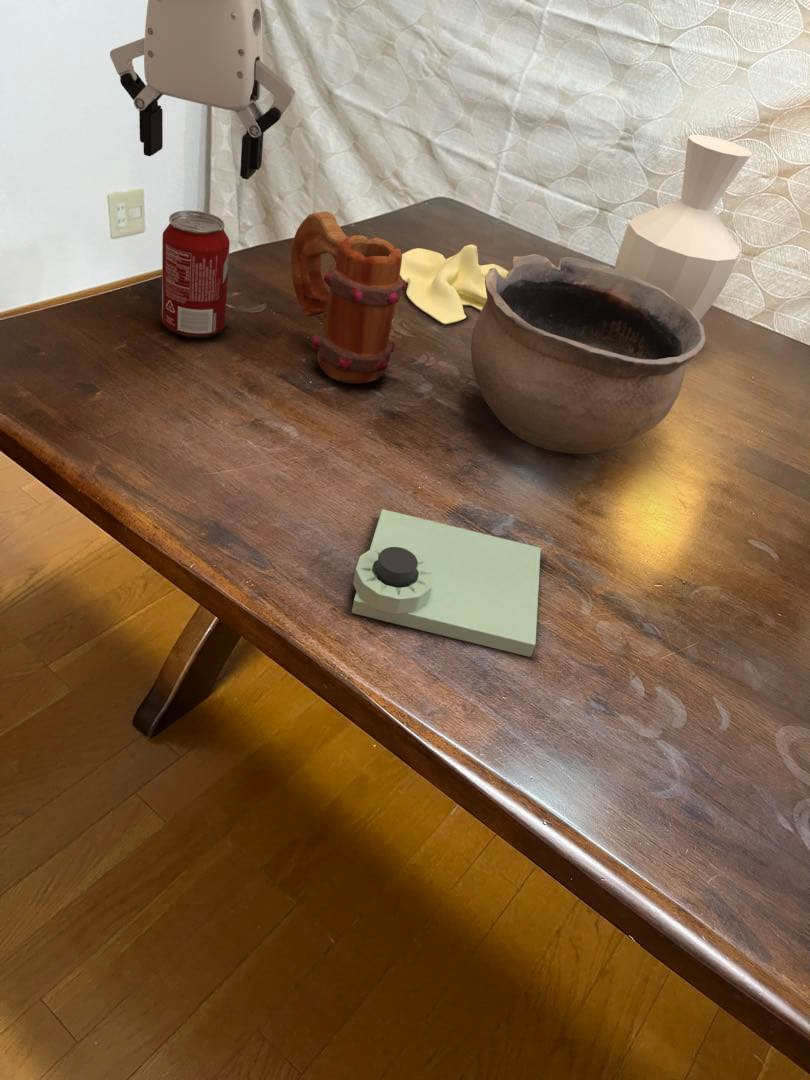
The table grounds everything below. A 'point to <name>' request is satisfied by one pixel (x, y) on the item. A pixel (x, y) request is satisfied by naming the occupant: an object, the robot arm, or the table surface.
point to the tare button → (396, 567)
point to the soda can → (194, 274)
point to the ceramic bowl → (580, 353)
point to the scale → (454, 584)
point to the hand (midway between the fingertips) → (200, 163)
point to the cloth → (446, 282)
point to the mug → (347, 297)
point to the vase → (688, 230)
